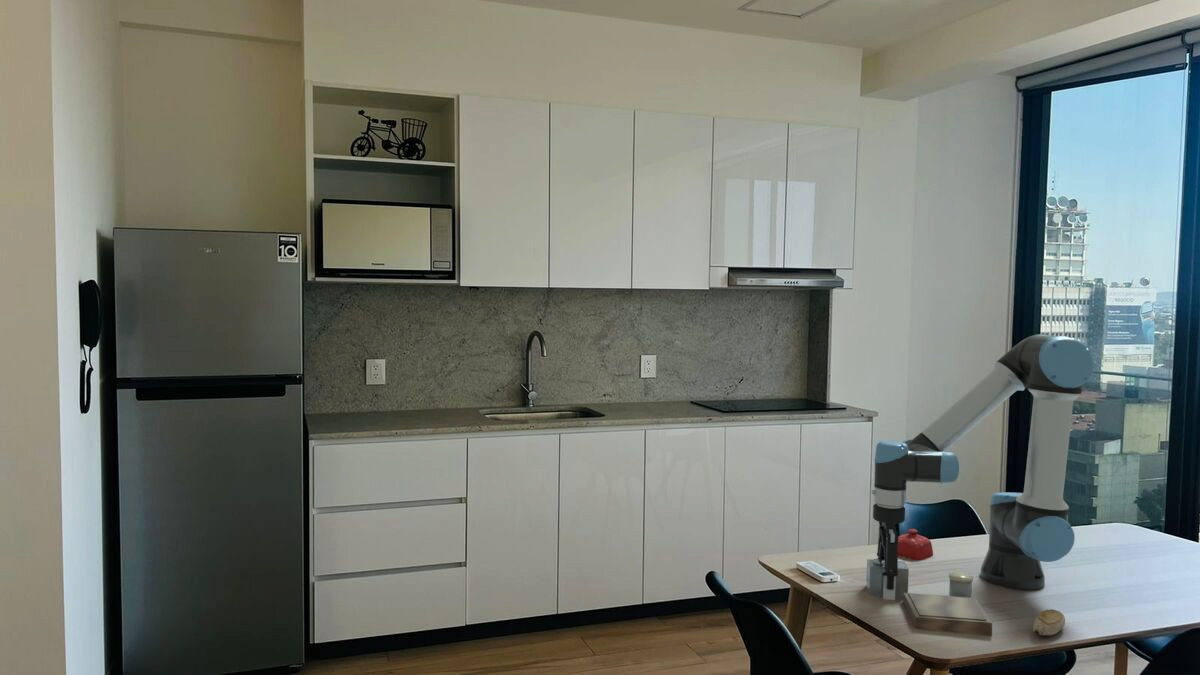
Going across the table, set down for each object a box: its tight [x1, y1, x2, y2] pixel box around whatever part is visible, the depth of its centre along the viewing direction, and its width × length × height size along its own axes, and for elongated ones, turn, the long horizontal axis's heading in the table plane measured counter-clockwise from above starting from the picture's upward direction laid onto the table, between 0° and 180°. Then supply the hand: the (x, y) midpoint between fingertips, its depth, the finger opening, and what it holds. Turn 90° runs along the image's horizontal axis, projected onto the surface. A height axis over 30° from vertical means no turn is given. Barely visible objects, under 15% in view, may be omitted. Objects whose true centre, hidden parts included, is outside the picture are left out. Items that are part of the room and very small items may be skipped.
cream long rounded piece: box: [1032, 608, 1066, 637], centre depth 195 cm, size 5×14×4 cm, turn 137°
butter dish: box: [898, 528, 934, 561], centre depth 248 cm, size 12×12×8 cm
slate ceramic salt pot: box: [948, 571, 974, 598], centre depth 213 cm, size 5×5×7 cm
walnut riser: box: [902, 592, 993, 637], centre depth 202 cm, size 16×16×3 cm
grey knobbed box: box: [865, 558, 910, 599], centre depth 217 cm, size 9×6×9 cm, turn 80°
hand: (885, 594), depth 217 cm, fingers open, 9 cm apart
